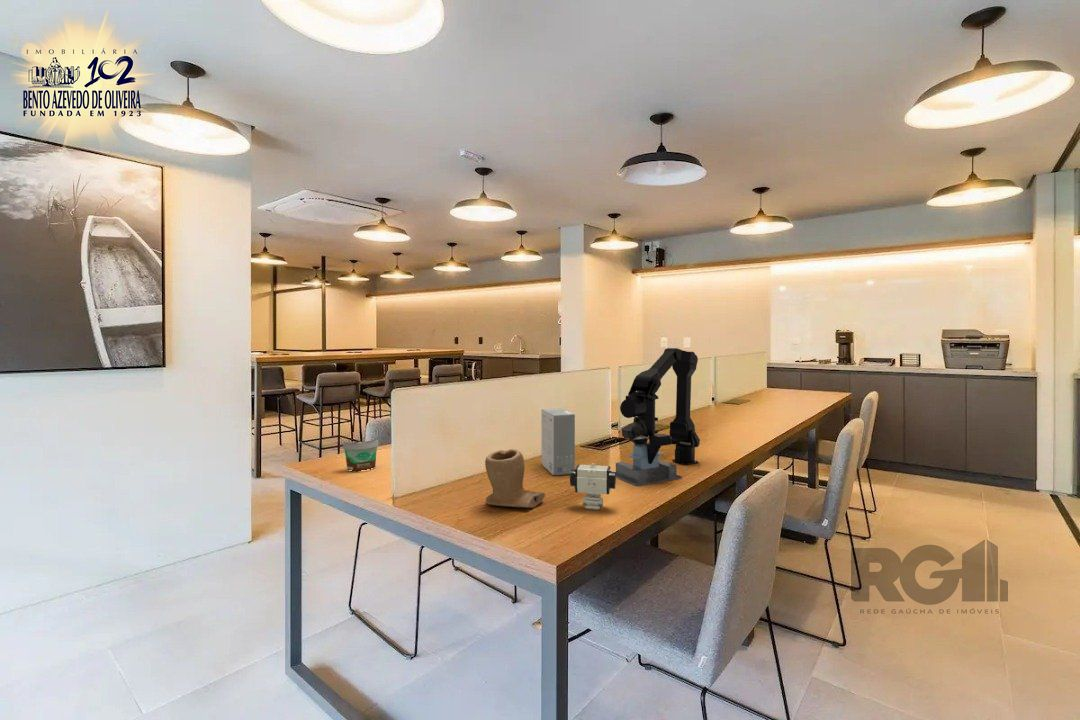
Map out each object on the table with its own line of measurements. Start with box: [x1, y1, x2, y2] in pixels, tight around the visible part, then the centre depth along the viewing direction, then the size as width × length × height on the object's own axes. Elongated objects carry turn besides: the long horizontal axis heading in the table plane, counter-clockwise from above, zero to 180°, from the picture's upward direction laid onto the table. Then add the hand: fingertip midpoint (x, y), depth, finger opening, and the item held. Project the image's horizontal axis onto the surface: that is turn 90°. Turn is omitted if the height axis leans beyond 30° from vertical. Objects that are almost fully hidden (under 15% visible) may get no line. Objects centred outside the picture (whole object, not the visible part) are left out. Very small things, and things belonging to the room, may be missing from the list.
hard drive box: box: [540, 408, 576, 476], centre depth 170 cm, size 16×8×20 cm, turn 15°
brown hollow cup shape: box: [484, 448, 546, 509], centre depth 134 cm, size 15×12×15 cm
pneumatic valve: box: [569, 462, 617, 511], centre depth 132 cm, size 6×12×12 cm, turn 77°
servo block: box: [627, 444, 664, 469], centre depth 161 cm, size 11×4×7 cm, turn 116°
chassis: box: [615, 459, 683, 487], centre depth 161 cm, size 18×14×4 cm
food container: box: [342, 437, 380, 471], centre depth 171 cm, size 12×6×10 cm, turn 132°
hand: (645, 462), depth 161 cm, fingers closed on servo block, 4 cm apart
